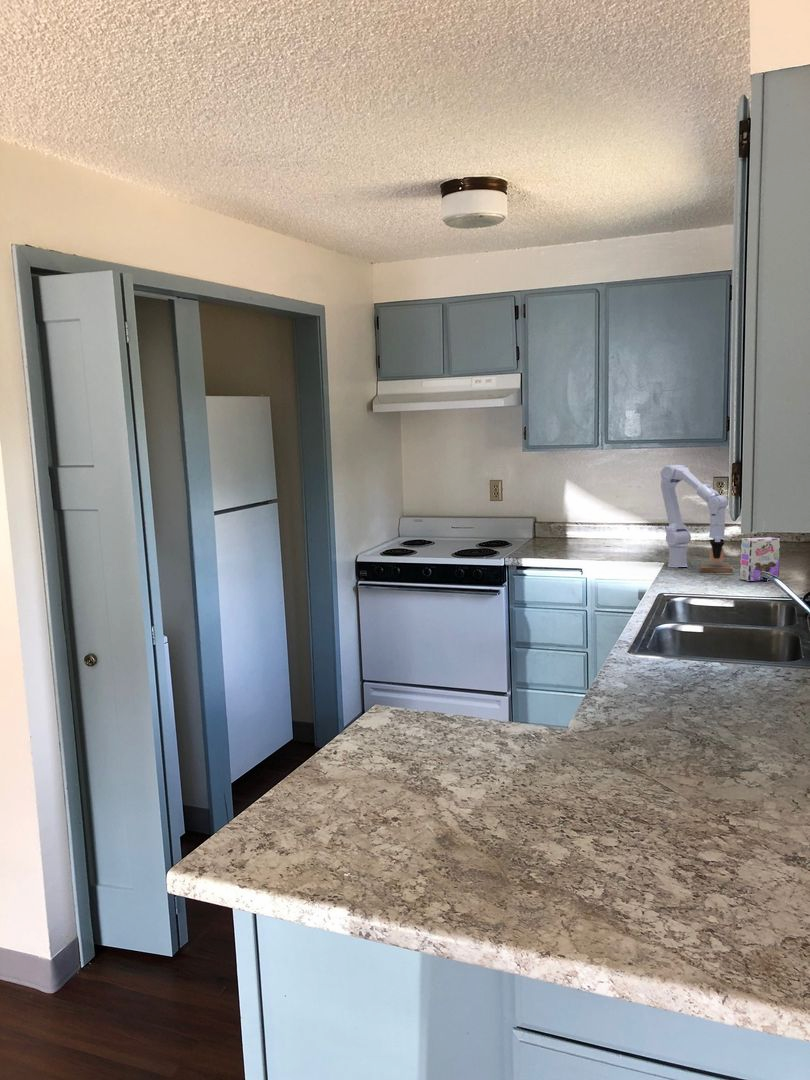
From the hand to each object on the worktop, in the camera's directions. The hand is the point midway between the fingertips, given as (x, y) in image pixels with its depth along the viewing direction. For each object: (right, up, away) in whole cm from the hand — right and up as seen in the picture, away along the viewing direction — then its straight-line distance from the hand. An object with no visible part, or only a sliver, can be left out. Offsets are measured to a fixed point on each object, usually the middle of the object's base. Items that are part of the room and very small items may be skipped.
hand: (716, 557), depth 344 cm
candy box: (+9, -9, -21) cm, 24 cm away
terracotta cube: (0, -1, 0) cm, 1 cm away
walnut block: (0, -7, +1) cm, 6 cm away
